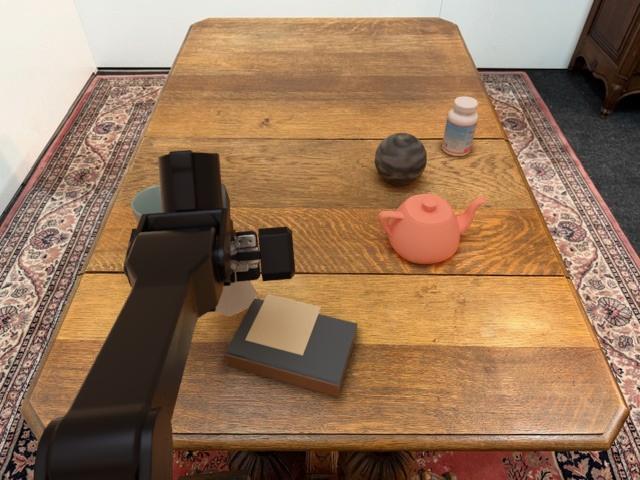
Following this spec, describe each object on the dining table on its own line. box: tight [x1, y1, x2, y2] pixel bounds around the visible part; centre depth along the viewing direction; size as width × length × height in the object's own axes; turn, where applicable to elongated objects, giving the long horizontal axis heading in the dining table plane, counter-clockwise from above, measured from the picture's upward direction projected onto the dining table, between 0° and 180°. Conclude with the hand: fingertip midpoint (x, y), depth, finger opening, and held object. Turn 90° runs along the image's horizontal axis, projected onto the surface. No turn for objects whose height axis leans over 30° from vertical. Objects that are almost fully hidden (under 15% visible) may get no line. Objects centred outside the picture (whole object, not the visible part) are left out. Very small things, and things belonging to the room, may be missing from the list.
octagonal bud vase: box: [214, 273, 259, 318], centre depth 64 cm, size 7×7×10 cm
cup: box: [130, 184, 162, 226], centre depth 79 cm, size 8×8×10 cm
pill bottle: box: [441, 95, 479, 157], centre depth 98 cm, size 6×6×11 cm
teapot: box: [377, 193, 489, 265], centre depth 79 cm, size 12×18×10 cm
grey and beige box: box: [224, 293, 358, 398], centre depth 67 cm, size 11×16×3 cm
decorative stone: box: [374, 132, 428, 186], centre depth 91 cm, size 10×10×10 cm
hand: (224, 257), depth 64 cm, fingers closed on octagonal bud vase, 3 cm apart
